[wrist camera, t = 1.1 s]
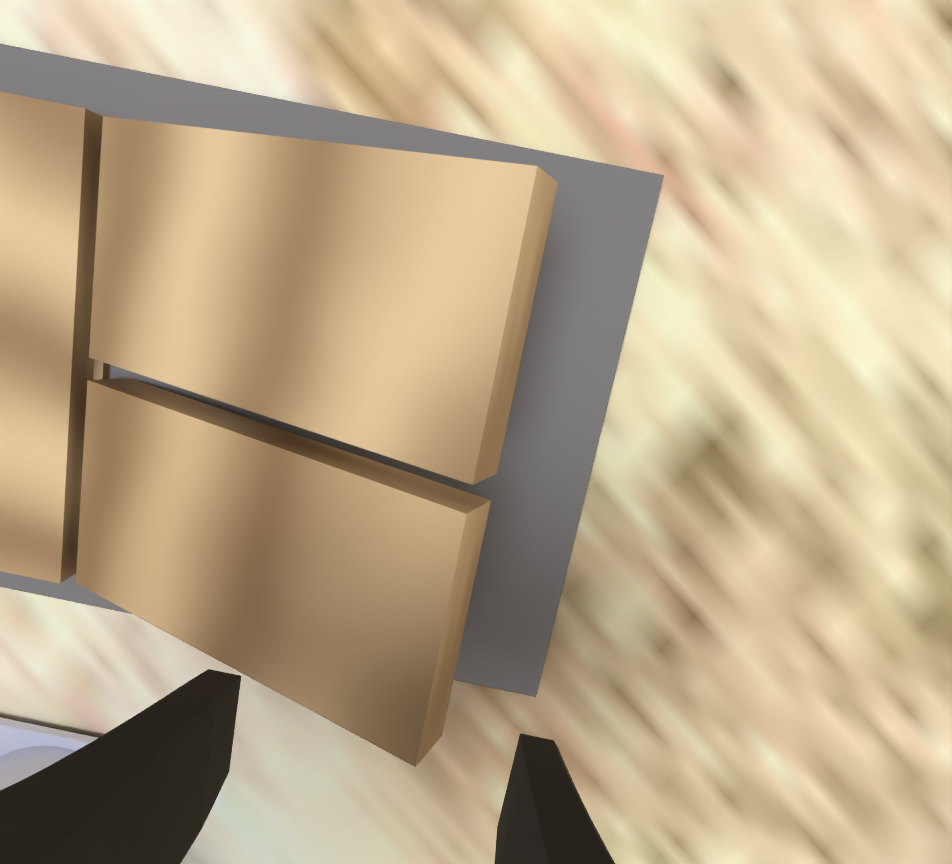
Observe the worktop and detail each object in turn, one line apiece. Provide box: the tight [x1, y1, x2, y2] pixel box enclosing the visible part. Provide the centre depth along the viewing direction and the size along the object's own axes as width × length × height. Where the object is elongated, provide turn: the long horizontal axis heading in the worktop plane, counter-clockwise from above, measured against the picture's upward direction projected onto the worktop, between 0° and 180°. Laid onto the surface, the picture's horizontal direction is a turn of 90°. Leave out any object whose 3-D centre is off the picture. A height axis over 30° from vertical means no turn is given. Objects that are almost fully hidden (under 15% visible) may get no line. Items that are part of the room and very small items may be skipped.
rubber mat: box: [0, 44, 664, 697], centre depth 21 cm, size 18×24×1 cm
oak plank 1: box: [89, 116, 558, 485], centre depth 16 cm, size 13×7×1 cm, turn 79°
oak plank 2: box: [76, 378, 491, 767], centre depth 18 cm, size 13×7×1 cm, turn 79°
